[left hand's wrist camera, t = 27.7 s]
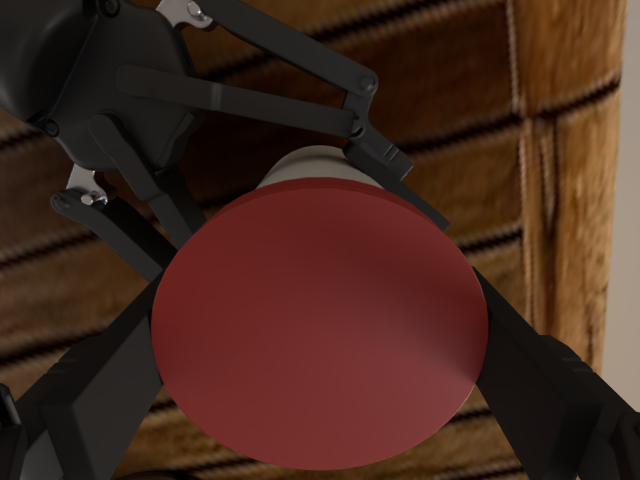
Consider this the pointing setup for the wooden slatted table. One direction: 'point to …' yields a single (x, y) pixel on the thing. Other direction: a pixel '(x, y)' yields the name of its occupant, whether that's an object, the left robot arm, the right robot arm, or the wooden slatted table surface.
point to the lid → (319, 325)
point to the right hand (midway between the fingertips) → (380, 282)
